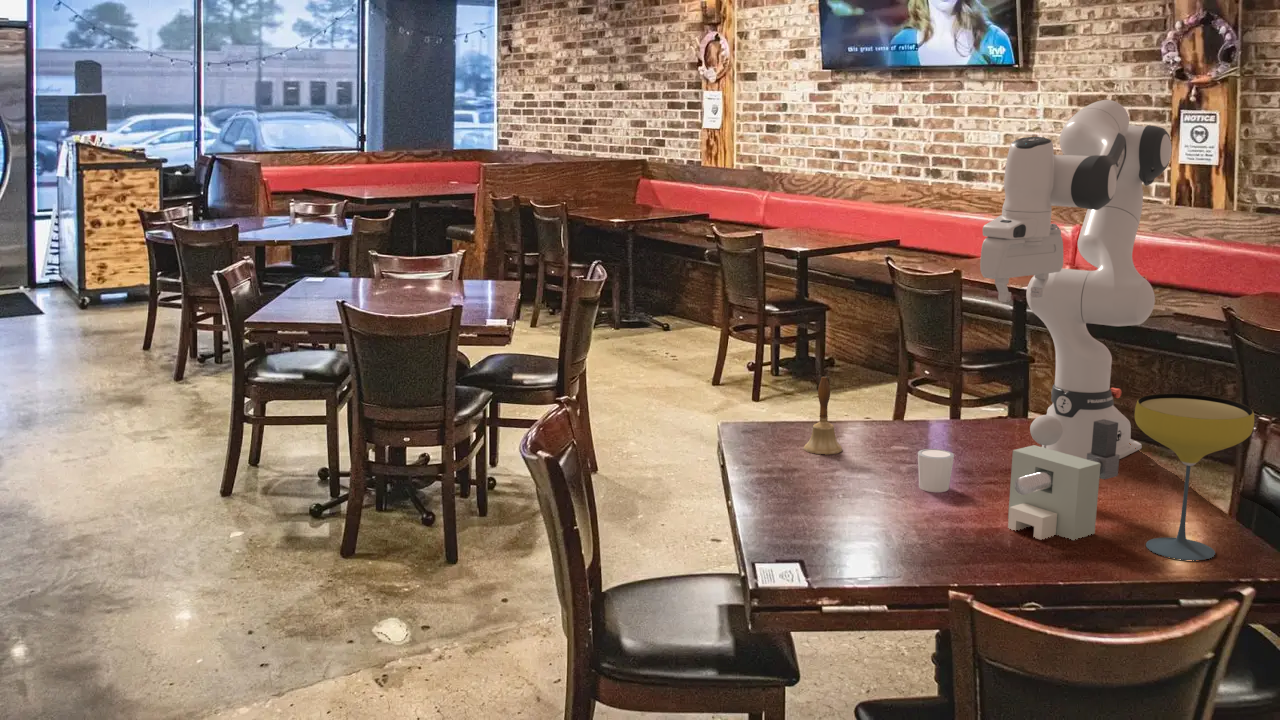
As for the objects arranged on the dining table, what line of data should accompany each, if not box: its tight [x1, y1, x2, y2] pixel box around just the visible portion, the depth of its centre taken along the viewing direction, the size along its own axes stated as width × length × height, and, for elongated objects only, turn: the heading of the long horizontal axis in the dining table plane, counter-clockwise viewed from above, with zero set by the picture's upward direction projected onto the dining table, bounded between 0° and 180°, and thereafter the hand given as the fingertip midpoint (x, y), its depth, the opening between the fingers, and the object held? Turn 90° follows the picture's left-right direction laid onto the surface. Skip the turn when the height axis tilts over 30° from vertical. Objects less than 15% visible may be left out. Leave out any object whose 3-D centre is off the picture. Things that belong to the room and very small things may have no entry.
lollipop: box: [1029, 414, 1063, 448], centre depth 244 cm, size 6×6×15 cm
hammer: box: [1014, 419, 1120, 495], centre depth 224 cm, size 25×4×10 cm, turn 125°
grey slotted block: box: [1007, 444, 1101, 541], centre depth 224 cm, size 6×14×13 cm, turn 35°
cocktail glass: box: [1134, 393, 1255, 562], centre depth 211 cm, size 18×18×25 cm
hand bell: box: [803, 376, 843, 456], centre depth 271 cm, size 8×8×16 cm
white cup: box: [917, 448, 955, 493], centre depth 246 cm, size 7×7×7 cm
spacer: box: [1007, 503, 1057, 541], centre depth 221 cm, size 4×7×4 cm, turn 35°
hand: (1020, 299), depth 239 cm, fingers open, 8 cm apart
